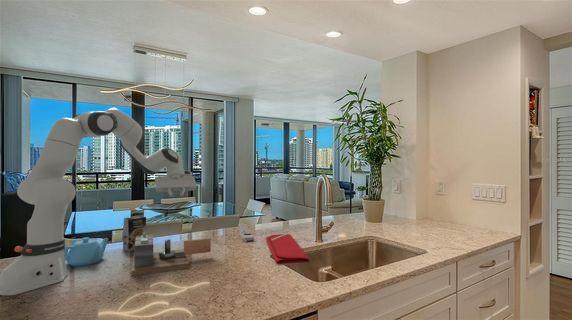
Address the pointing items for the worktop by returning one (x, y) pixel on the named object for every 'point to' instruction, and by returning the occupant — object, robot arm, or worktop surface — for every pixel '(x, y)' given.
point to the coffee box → (133, 231)
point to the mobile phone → (245, 232)
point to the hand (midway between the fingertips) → (176, 196)
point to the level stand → (153, 258)
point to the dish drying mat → (286, 249)
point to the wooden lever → (187, 248)
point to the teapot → (85, 252)
